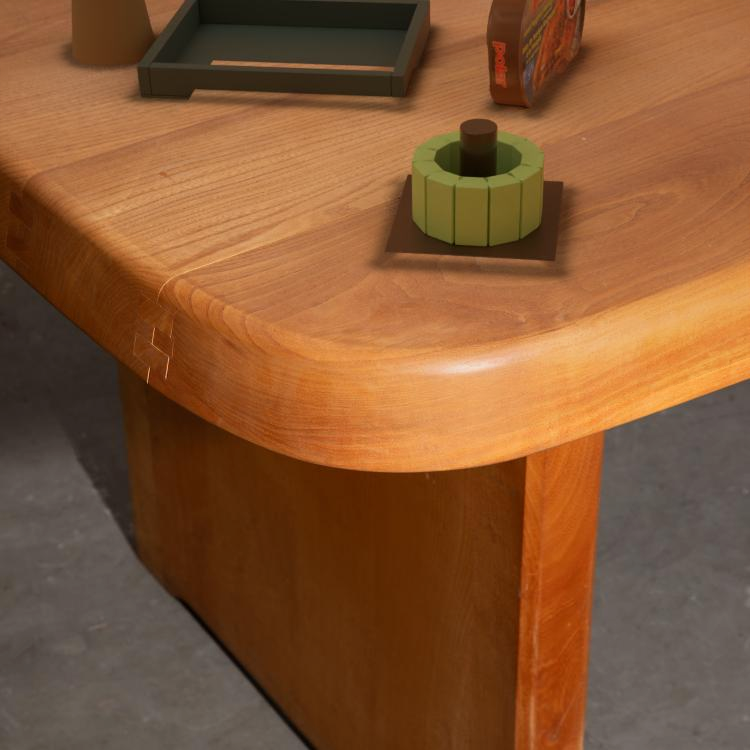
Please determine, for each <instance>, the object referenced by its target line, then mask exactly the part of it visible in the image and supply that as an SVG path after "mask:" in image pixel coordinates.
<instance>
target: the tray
mask: <svg viewBox="0 0 750 750" xmlns="http://www.w3.org/2000/svg"><path fill="white" fill-rule="evenodd" d="M430 31H431V0H184V1H183V2H182V4H181V5H180V7H179V8H178V9H177V10H176V12H175V13H174V14H173V16H172V17H171V18H170V20H169V21H168V23H167V25H166V26H165V27H164V28H163V30H162V31H161V32H160V34H159V35H158V37H157V38H155V42H154V43H153V45H152V46H151V48H150V49H149V50H148V52H147V53H146V54H145V56H144V57H143V59H142V60H140V61H139V62H138V64H137V66H136V71H137V72H136V73H137V79H138V87H139V88H138V89H139V94H140V98H146V99H147V98H149V99H172V100H173V99H174V100H176V99H177V100H190V98H191V97H192V95H193V93H194V92H195V90H204V91H229V92H230V91H231V92H253V93H254V92H256V93H278V94H279V93H281V94H302V95H303V94H306V95H310V94H311V95H332V96H354V97H355V96H357V97H381V98H384V97H385V98H391V97H392V98H405V96H406V93H407V89H408V86H409V84H410V81H411V79H412V75H413V72H414V69H418V68H419V65H420V61H421V58H422V55H423V53H424V49H425V46H426V44H427V40H428V37H429V34H430ZM213 61H214V62H215V61H216V62H238V63H239V62H240V63H241V62H242V63H266V64H267V63H269V64H270V63H271V64H295V65H296V64H297V65H322V66H323V65H325V66H326V65H327V66H354V67H379V68H393V70H371V69H370V70H369V69H342V68H341V69H339V68H315V67H314V68H311V67H290V66H289V67H288V66H287V67H286V66H262V65H261V66H260V65H231V64H213Z"/></svg>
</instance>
